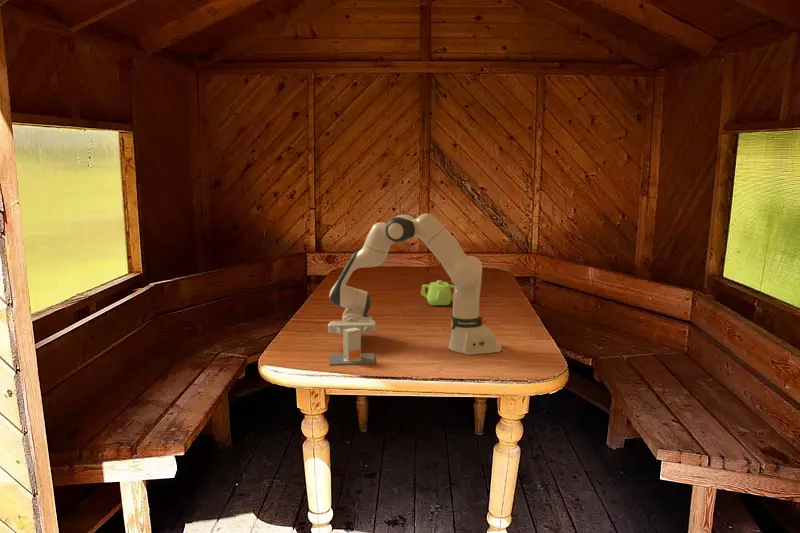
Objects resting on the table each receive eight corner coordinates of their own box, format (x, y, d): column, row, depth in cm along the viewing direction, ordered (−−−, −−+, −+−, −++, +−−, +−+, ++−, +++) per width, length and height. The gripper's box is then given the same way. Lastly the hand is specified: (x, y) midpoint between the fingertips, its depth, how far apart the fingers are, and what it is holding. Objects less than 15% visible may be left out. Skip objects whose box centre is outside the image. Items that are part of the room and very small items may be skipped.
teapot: (458, 309, 341) (459, 285, 338) (421, 308, 341) (421, 284, 339) (456, 300, 359) (456, 278, 356) (420, 300, 359) (420, 277, 357)
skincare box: (348, 360, 256) (347, 331, 254) (343, 358, 259) (342, 329, 257) (361, 358, 259) (361, 329, 257) (356, 355, 263) (355, 327, 261)
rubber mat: (374, 354, 266) (374, 352, 266) (375, 364, 254) (375, 362, 254) (330, 355, 265) (330, 353, 265) (329, 365, 253) (329, 363, 253)
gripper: (327, 316, 278) (326, 325, 264) (375, 315, 279) (376, 324, 266) (328, 330, 279) (326, 340, 266) (375, 329, 281) (376, 339, 267)
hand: (352, 332), depth 266 cm, fingers open, 8 cm apart
